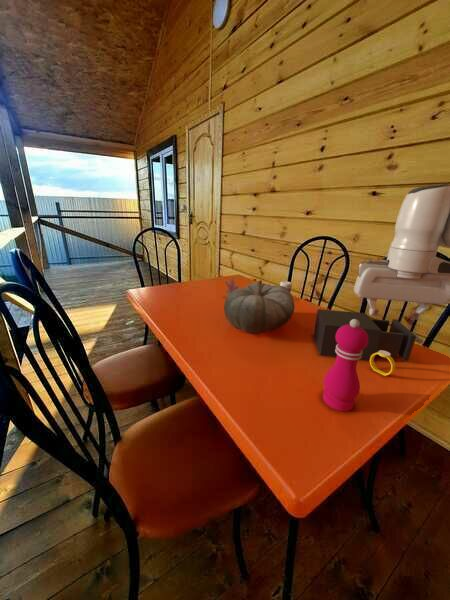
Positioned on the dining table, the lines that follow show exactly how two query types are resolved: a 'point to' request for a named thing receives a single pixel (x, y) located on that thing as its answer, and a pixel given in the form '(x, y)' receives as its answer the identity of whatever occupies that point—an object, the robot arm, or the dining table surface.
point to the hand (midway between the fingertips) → (393, 316)
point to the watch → (386, 355)
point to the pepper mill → (345, 367)
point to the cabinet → (334, 320)
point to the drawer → (396, 339)
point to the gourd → (259, 308)
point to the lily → (231, 286)
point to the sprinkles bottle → (286, 285)
